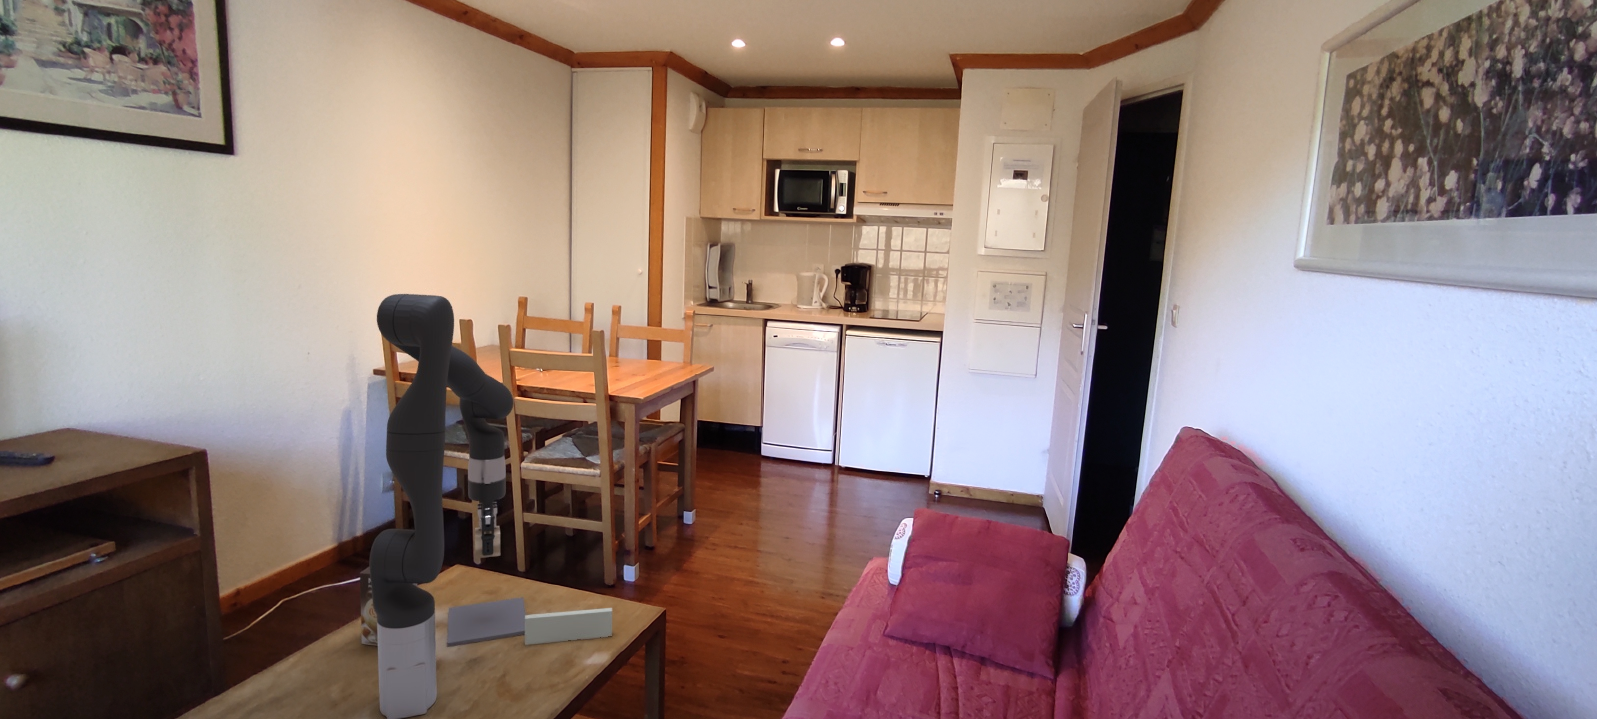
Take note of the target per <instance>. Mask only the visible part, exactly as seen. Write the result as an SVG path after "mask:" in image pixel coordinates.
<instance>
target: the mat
mask: <svg viewBox="0 0 1597 719" xmlns="http://www.w3.org/2000/svg"><path fill="white" fill-rule="evenodd" d="M524 600H525V599H524V597H514V598H508V599H501V600H494V601H487V602H478V603H472V604H465V605H464V604H463V605H459V606H458V605H457V606H452V607H451V606H449V607H448V619H447V636H446V637H447V642H446V643H447V644H446V646H447V648H448V647H454V646H461V645H467V644H473V643H478V642H479V643H480V642H484V641H485V642H486V641H490V640H491V641H492V640H497V639H503V638H504V639H505V638H510V637H515V636H522V635H523V636H524V635H525V615H527V614H526V607H525V601H524Z"/></svg>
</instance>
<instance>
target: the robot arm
mask: <svg viewBox="0 0 1597 719" xmlns="http://www.w3.org/2000/svg"><path fill="white" fill-rule="evenodd" d="M376 312H377V313H376V323H377V324H376V325H377V328H378V330H379V332H380V334H381V336H382V337H383V338H384V339H385V340H386V341H387V342H389V343H390V344H391V345H393V346H394V347H396V348H397V349H399V350H400V351H402V352H403V353H405V354H406V355H408V356H410V357H411V358H413V360H416V361H417V362H418V364H417V369H416V371H415V372H416V373H415V375H414V377H413V379H412V381H411V383H410V385H409V387H408V388H407V389H406V391H405V392H404V393H403V395H402V396H401V398H399V400H398V402H397V403H396V404H395V406H394V408H392V411H391V412H390V414H389V417H388V419H387V424H386V439H385V440H386V442H385V443H386V444H385V457H386V463H387V465H388V466H389V469H390V471H391V473H392V474H393V476H394V478H395V479H396V481H397V483H398V484H399V485H400V487H401V489H402V490H403V492H404V493H405V495H406V497H407V499H408V501H409V503H410V506H411V509H412V515H413V521H414V522H413V523H414V529H404V528H387V529H384V530H383V531H381V532H380V533H379V534H378V535H377V536H376V537H375V539H374V540H373V542H372V546H371V547H370V548H371V550H370V552H369V564H368V565H369V566H368V567H369V568H370V579H371V588H372V600H373V608H374V610H375V612H376V614H377V633H378V646H377V662H378V663H377V664H378V667H377V668H378V689H379V692H378V697H379V710H380V713H381V715H383V716H385V717H386V719H404V718H409V717H415V716H420V715H424V714H427V711H428V709H429V708H431V707H432V706H433V705H434V704H435V703H436V701H437V695H438V694H437V691H438V690H437V689H438V688H437V658H436V657H437V655H436V654H437V652H436V649H437V648H436V645H437V644H436V604H435V603H436V602H435V601H436V600H435V598H434V595H432V594H431V593H430V592H429V591H427V590H425V589H423V588H421V587H419V586H418V585H422V584H423V585H425V584H430V583H432V582H433V581H435V580H436V579H437V578H438V576H439V574H440V572H441V570H442V566H443V562H444V558H445V557H444V556H445V529H444V508H443V477H444V461H445V460H444V458H445V450H446V446H445V444H446V411H447V410H446V408H447V406H446V405H447V389H448V388H449V389H450V390H451V391H452V392H453V393H454V395H455V396H457V397H458V398H459V409H460V410H459V411H460V414H461V417H462V420H463V423H464V425H465V428H466V429H465V430H466V433H467V435H468V436H467V437H468V448H469V450H468V454H469V455H468V458H469V459H468V466H467V483H468V484H467V485H468V486H467V489H468V495H467V496H468V498H469V499H470V500H472V501H474V502H479V503H477V516H478V528H480V529H482V536H481V539H482V555H483V556H488V555H492V554H493V539H494V537H495V535H494V528H495V527H496V526H497V514H498V502H497V501H496V500H501V499H502V498H505V495H506V489H507V487H506V486H507V485H506V484H507V483H506V481H507V480H506V479H507V478H506V477H507V476H506V475H507V473H506V471H507V470H506V469H507V468H506V465H507V464H506V458H505V433H504V431H503V430H502V429H501V428H498V427H495V426H492V425H490V424H489V423H488V422H487V421H486V420H488V419H490V420H501V419H505V418H506V417H508V416H509V415H510V414H511V412H512V410H513V408H514V398H513V395H512V393H511V391H510V389H509V388H508V387H507V386H506V385H504V384H503V383H502V382H500V381H498V379H495V378H494V377H492V376H491V375H488V374H487V373H486V372H485V371H484V370H483V369H482V368H481V366H480V365H479V363H478V362H477V361H475V359H474V358H473V357H472V356H470V355H469V354H467V353H466V352H464V351H462V349H459V348H457V347H456V346H454V345H453V340H454V332H455V331H454V330H455V315H454V314H455V313H454V309H453V306H452V303H451V302H450V301H449V299H447V298H446V297H444V296H442V295H441V296H440V295H434V294H414V293H412V294H411V293H399V294H398V293H396V294H391V295H389V296H386V297H385V298H384V299H383V300H382V301H381V302H380V304H379V306H378V309H377V311H376ZM485 531H491V533H489V534H484V532H485ZM414 584H417V586H415V585H414Z"/></svg>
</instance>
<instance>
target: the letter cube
mask: <svg viewBox="0 0 1597 719" xmlns="http://www.w3.org/2000/svg"><path fill="white" fill-rule="evenodd" d="M489 533H491V531H485V532H484V534H489ZM494 535H495V537H494V539H493V554H492V555H488V556H483V555H482V539H481V536H482V529H480V528H479V527H475V528H474V542H475V544H474V547H475V548H474V551H475V554H474V558H475V559H481V558H489V557H490V558H491V557H499V556H501V528H500V525H496V527H495V528H494Z"/></svg>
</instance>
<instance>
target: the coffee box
mask: <svg viewBox="0 0 1597 719" xmlns="http://www.w3.org/2000/svg"><path fill="white" fill-rule="evenodd" d="M414 585H415V586H417V587H418V584H414ZM359 587H360V589H359V590H360V591H359V594H360V621H361V624H360V628H361V630H360V631H361V633H360V634H361V644H362V645H369V646H376V647H378V633H377V614H376V612H375V610H374V608H373V600H372V588H371V579H370V568H369V566H368V567H366V568H365V569H364V570H362V571H360V572H359Z"/></svg>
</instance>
